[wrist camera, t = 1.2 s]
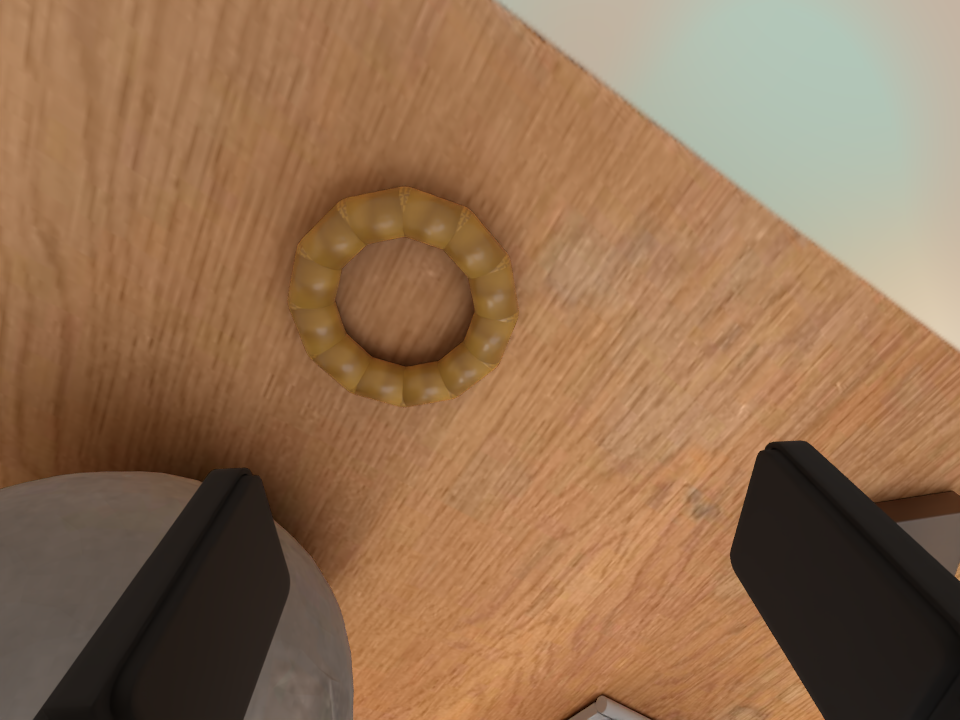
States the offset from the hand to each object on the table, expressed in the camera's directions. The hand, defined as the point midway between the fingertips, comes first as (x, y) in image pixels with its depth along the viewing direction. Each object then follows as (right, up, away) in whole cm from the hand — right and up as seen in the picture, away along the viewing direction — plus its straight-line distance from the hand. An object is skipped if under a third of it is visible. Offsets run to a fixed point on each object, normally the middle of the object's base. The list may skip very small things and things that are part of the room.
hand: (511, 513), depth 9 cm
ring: (-4, +5, +11) cm, 12 cm away
